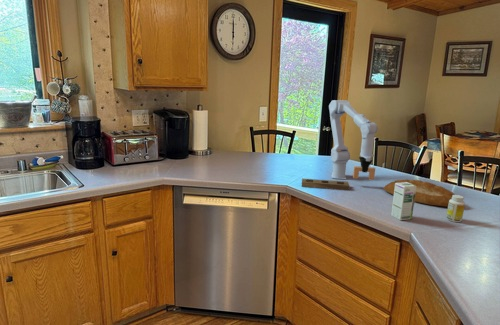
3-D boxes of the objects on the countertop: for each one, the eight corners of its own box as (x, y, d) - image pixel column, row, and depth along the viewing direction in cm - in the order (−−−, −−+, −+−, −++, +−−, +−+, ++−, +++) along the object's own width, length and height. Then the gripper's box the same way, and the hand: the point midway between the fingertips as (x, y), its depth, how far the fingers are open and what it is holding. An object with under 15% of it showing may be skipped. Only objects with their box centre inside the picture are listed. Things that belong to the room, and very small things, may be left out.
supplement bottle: (463, 220, 137) (467, 196, 135) (459, 224, 133) (464, 199, 131) (447, 216, 141) (452, 193, 138) (444, 219, 137) (448, 196, 134)
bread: (390, 186, 179) (392, 171, 177) (466, 204, 157) (470, 186, 155) (377, 194, 167) (379, 177, 165) (458, 214, 144) (462, 194, 142)
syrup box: (400, 220, 135) (405, 186, 131) (390, 215, 140) (395, 182, 137) (412, 219, 136) (417, 185, 133) (402, 214, 142) (406, 181, 138)
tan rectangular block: (352, 176, 179) (354, 166, 177) (373, 178, 177) (374, 167, 176) (353, 178, 176) (354, 167, 175) (374, 179, 175) (375, 168, 173)
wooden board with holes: (301, 182, 181) (302, 178, 180) (347, 186, 178) (347, 181, 177) (301, 186, 174) (301, 182, 174) (349, 190, 171) (349, 185, 170)
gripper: (378, 149, 165) (374, 175, 168) (372, 144, 179) (369, 168, 182) (363, 148, 166) (360, 174, 169) (358, 143, 180) (356, 167, 183)
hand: (364, 171), depth 176 cm, fingers closed on tan rectangular block, 2 cm apart
